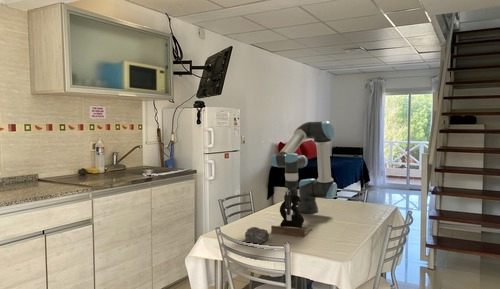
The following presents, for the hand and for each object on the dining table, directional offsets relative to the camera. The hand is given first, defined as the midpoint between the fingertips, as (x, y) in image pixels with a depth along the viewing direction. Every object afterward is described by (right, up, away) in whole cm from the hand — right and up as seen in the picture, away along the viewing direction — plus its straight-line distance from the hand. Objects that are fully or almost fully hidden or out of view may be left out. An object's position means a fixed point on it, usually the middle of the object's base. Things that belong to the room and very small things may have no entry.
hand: (292, 218), depth 216 cm
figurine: (0, -5, 0) cm, 5 cm away
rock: (-21, -9, -15) cm, 28 cm away
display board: (0, -8, 0) cm, 8 cm away
